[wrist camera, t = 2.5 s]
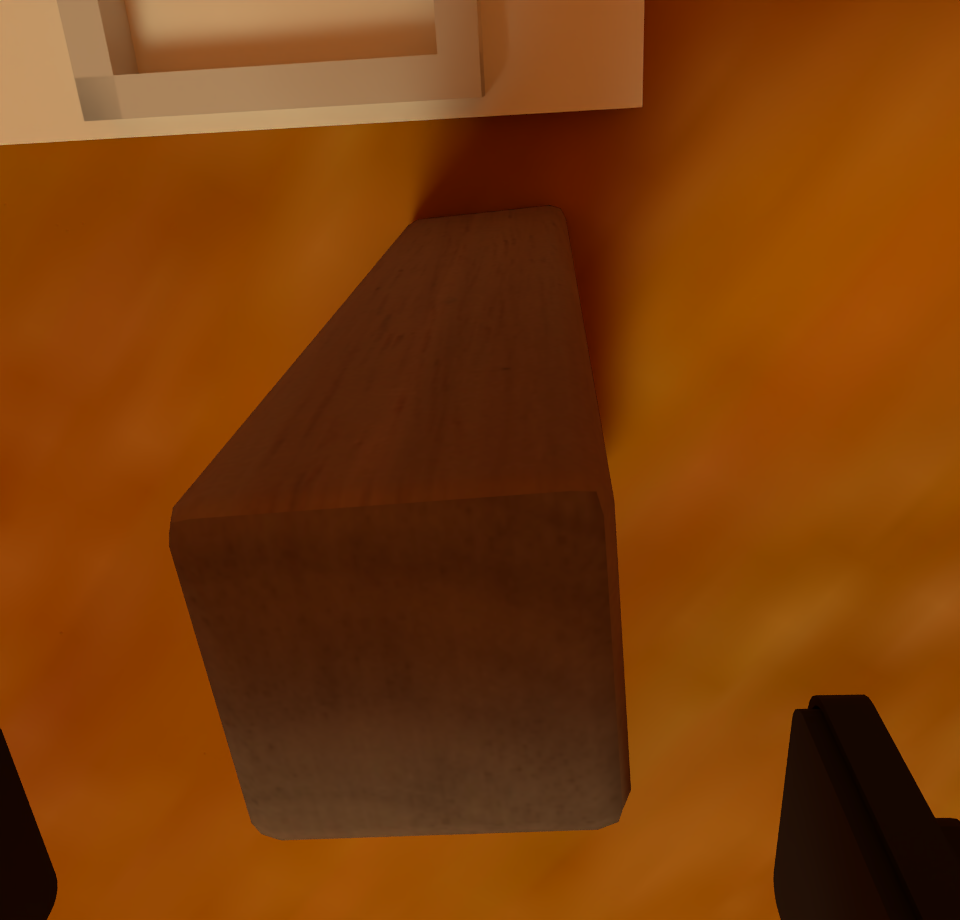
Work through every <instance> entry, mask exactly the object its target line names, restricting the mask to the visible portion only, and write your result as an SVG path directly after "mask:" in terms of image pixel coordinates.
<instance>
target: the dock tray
mask: <svg viewBox="0 0 960 920" xmlns="http://www.w3.org/2000/svg"><path fill="white" fill-rule="evenodd" d="M643 49H644V0H0V145H8V144H25V143H42V142H59V141H76V140H93V139H110V138H127V137H144V136H161V135H178V134H195V133H212V132H229V131H246V130H263V129H280V128H297V127H314V126H331V125H348V124H365V123H382V122H399V121H416V120H433V119H450V118H467V117H484V116H501V115H518V114H535V113H552V112H569V111H586V110H603V109H620V108H637V107H642V105H643Z"/></svg>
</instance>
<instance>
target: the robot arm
mask: <svg viewBox="0 0 960 920" xmlns="http://www.w3.org/2000/svg"><path fill="white" fill-rule="evenodd" d="M774 892H775V898H776V904H777V908H778V912H779V915H780V918H781V920H960V821H959V820H958V819H954V818H935V817H934V815H933V813H932V812H931V810H930V808H929V806H928V804H927V802H926V801H925V799H924V797H923V795H922V793H921V791H920V789H919V788H918V786H917V784H916V782H915V780H914V778H913V777H912V775H911V773H910V771H909V769H908V767H907V765H906V764H905V762H904V760H903V758H902V756H901V754H900V753H899V751H898V749H897V747H896V745H895V743H894V742H893V740H892V738H891V736H890V734H889V732H888V730H887V729H886V727H885V725H884V723H883V721H882V719H881V718H880V716H879V714H878V712H877V710H876V708H875V706H874V705H873V703H872V702H871V700H870V699H869V697H867V696H865V695H815V696H812V698H811V699H810V702H809V706H808V709H796V710H795V711H794V713H793V718H792V725H791V733H790V742H789V750H788V758H787V767H786V775H785V783H784V792H783V800H782V808H781V817H780V825H779V833H778V842H777V850H776V858H775V867H774ZM56 894H57V878H56V874H55V871H54V869H53V866H52V863H51V861H50V858H49V855H48V853H47V850H46V847H45V845H44V842H43V839H42V837H41V834H40V831H39V829H38V826H37V823H36V821H35V818H34V815H33V813H32V810H31V807H30V805H29V802H28V799H27V797H26V794H25V791H24V789H23V786H22V783H21V781H20V778H19V775H18V773H17V770H16V767H15V765H14V762H13V759H12V757H11V754H10V751H9V749H8V746H7V743H6V741H5V738H4V735H3V733H2V730H1V729H0V920H47V918H48V916H49V914H50V912H51V910H52V908H53V906H54V903H55V899H56Z"/></svg>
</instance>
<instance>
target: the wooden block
mask: <svg viewBox="0 0 960 920" xmlns="http://www.w3.org/2000/svg"><path fill="white" fill-rule="evenodd" d="M169 547H170V551H171V554H172V557H173V561H174V564H175V567H176V571H177V574H178V577H179V581H180V584H181V587H182V591H183V594H184V598H185V601H186V604H187V608H188V611H189V614H190V618H191V621H192V624H193V628H194V631H195V634H196V638H197V641H198V645H199V648H200V651H201V655H202V658H203V661H204V665H205V668H206V671H207V675H208V678H209V681H210V685H211V688H212V692H213V695H214V698H215V702H216V705H217V708H218V712H219V715H220V718H221V722H222V725H223V728H224V732H225V735H226V739H227V742H228V745H229V749H230V752H231V755H232V759H233V762H234V765H235V769H236V772H237V775H238V779H239V782H240V786H241V789H242V792H243V796H244V799H245V802H246V806H247V809H248V812H249V816H250V819H251V822H252V824H253V825H254V826H255V827H256V828H257V829H258V830H259V832H260V833H261V834H263V835H267V836H270V837H273V838H276V839H279V840H300V839H329V838H359V837H389V836H419V835H449V834H478V833H508V832H538V831H568V830H598V829H601V828H603V827H606V826H608V825H611V824H614V823H616V822H618V821H619V819H620V816H621V813H622V810H623V807H624V805H625V803H626V800H627V798H628V795H629V793H630V791H631V783H630V766H629V749H628V731H627V714H626V696H625V679H624V662H623V644H622V627H621V609H620V592H619V575H618V557H617V540H616V522H615V505H614V497H613V491H612V485H611V479H610V473H609V468H608V462H607V456H606V450H605V444H604V438H603V433H602V427H601V421H600V415H599V409H598V404H597V398H596V392H595V386H594V380H593V375H592V369H591V363H590V357H589V351H588V345H587V340H586V334H585V328H584V322H583V316H582V311H581V305H580V299H579V293H578V287H577V281H576V275H575V269H574V263H573V257H572V251H571V245H570V240H569V234H568V229H567V223H566V218H565V216H564V214H563V212H562V210H561V209H560V208H557V207H554V206H550V205H549V206H539V207H530V208H521V209H512V210H502V211H493V212H484V213H475V214H466V215H456V216H447V217H438V218H429V219H420V220H417V221H415V222H413V223H411V224H410V225H408V226H407V228H406V229H405V230H404V231H403V232H402V234H401V235H400V236H399V237H398V238H397V240H396V241H395V242H394V243H393V244H392V246H391V247H390V248H389V249H388V250H387V251H386V253H385V254H384V255H383V256H382V257H381V259H380V260H379V261H378V262H377V264H376V265H375V266H374V267H373V268H372V270H371V271H370V272H369V273H368V274H367V276H366V277H365V278H364V279H363V280H362V282H361V283H360V284H359V285H358V286H357V288H356V289H355V290H354V291H353V292H352V294H351V295H350V296H349V297H348V298H347V300H346V301H345V302H344V303H343V304H342V306H341V307H340V308H339V309H338V310H337V312H336V313H335V314H334V315H333V316H332V318H331V319H330V320H329V321H328V322H327V324H326V325H325V326H324V327H323V328H322V330H321V331H320V332H319V333H318V334H317V336H316V337H315V338H314V339H313V340H312V342H311V343H310V344H309V345H308V346H307V348H306V349H305V350H304V351H303V352H302V354H301V355H300V356H299V357H298V358H297V360H296V361H295V362H294V363H293V364H292V366H291V367H290V368H289V369H288V370H287V372H286V373H285V374H284V375H283V376H282V378H281V379H280V380H279V381H278V382H277V384H276V385H275V386H274V387H273V388H272V390H271V391H270V392H269V393H268V394H267V396H266V397H265V398H264V399H263V400H262V402H261V403H260V404H259V405H258V406H257V408H256V409H255V410H254V411H253V412H252V414H251V415H250V416H249V417H248V418H247V420H246V421H245V422H244V423H243V424H242V426H241V427H240V428H239V429H238V430H237V432H236V433H235V434H234V435H233V436H232V438H231V439H230V440H229V441H228V442H227V444H226V445H225V446H224V447H223V448H222V450H221V451H220V452H219V453H218V454H217V456H216V457H215V458H214V459H213V460H212V462H211V463H210V464H209V465H208V466H207V468H206V469H205V470H204V471H203V472H202V474H201V475H200V476H199V477H198V478H197V480H196V481H195V482H194V483H193V484H192V486H191V487H190V488H189V489H188V490H187V492H186V493H185V494H184V495H183V496H182V498H181V499H180V500H179V501H178V502H177V504H176V505H175V506H174V507H173V511H172V517H171V522H170V531H169Z"/></svg>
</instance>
